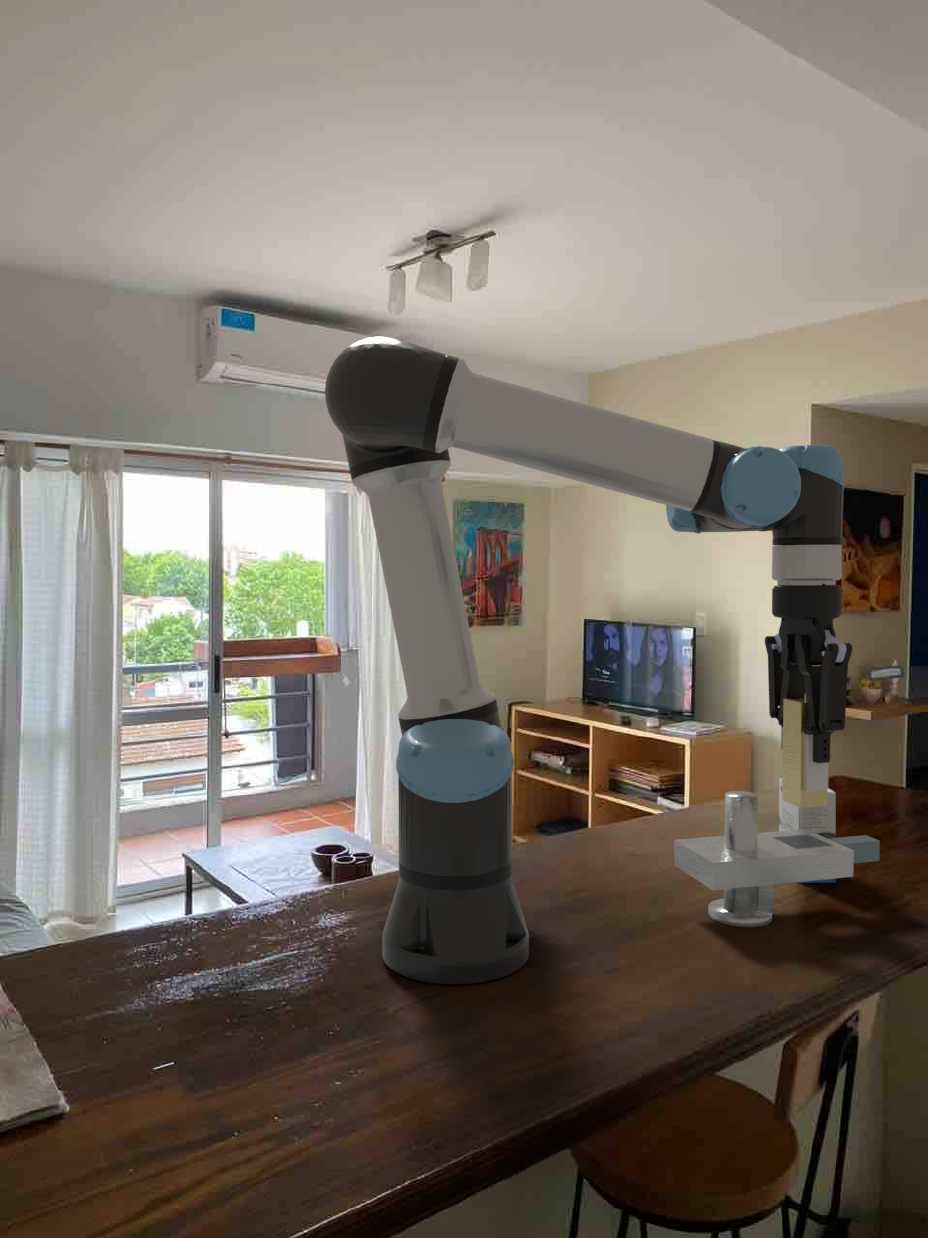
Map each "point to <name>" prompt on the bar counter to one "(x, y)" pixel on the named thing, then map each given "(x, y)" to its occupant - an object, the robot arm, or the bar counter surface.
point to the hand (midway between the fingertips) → (804, 785)
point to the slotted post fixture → (763, 861)
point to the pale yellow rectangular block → (797, 756)
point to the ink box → (809, 819)
